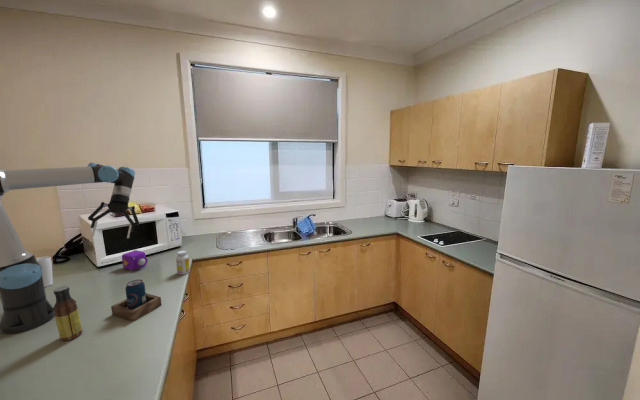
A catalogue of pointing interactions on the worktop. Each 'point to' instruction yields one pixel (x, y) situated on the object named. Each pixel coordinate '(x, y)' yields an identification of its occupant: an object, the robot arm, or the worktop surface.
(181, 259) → the supplement bottle
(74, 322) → the sauce bottle
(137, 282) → the soda can
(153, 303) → the brown wooden shallow tray
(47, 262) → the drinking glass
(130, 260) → the toy camera
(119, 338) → the worktop surface
